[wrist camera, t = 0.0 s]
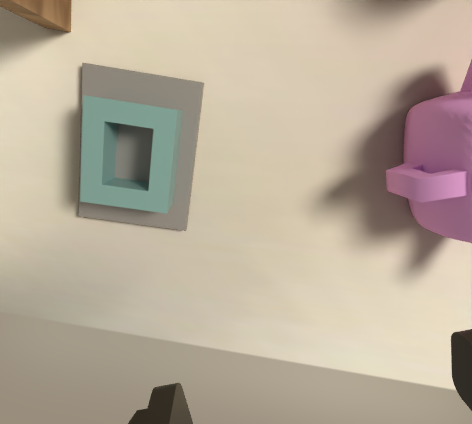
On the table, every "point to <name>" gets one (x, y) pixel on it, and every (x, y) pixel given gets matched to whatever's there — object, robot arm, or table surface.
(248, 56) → the table surface
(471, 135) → the teakettle
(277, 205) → the table surface
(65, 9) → the block
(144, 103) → the teal and grey socket
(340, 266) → the table surface
